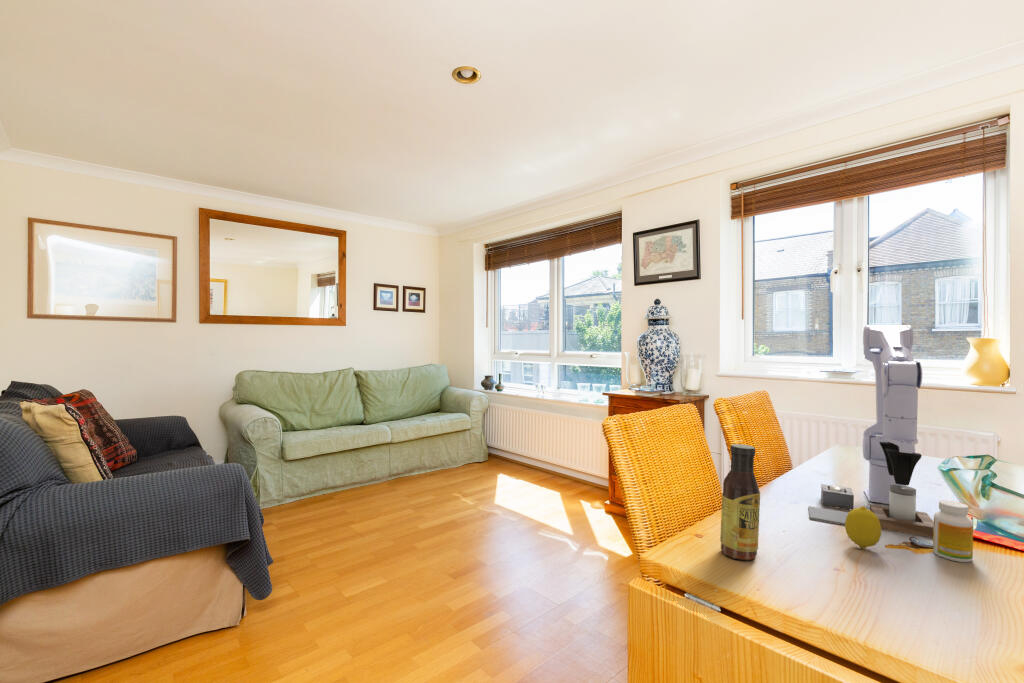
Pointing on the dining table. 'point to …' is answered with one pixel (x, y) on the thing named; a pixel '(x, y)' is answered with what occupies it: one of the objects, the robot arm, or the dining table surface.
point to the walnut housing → (904, 522)
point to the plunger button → (837, 489)
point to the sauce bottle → (740, 506)
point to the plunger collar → (837, 497)
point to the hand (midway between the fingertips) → (898, 479)
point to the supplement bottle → (953, 532)
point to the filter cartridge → (902, 502)
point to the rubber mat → (827, 515)
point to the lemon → (863, 527)
